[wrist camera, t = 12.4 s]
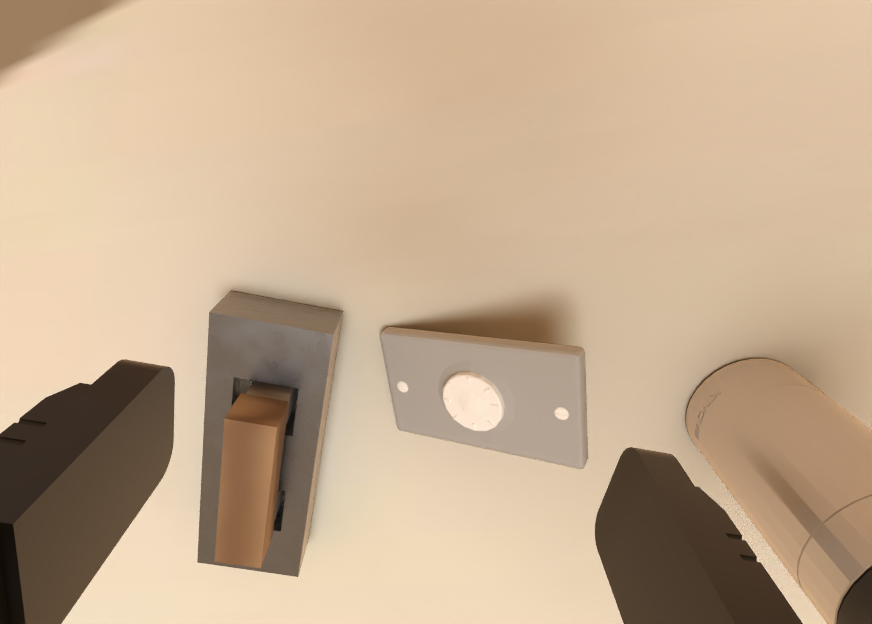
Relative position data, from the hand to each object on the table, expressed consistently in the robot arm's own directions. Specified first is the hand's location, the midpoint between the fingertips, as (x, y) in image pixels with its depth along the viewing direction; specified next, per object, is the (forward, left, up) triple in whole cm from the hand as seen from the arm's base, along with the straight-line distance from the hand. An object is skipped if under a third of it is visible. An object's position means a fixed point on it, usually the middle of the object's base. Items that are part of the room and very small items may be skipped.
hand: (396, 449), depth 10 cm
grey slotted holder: (+8, +21, -28) cm, 36 cm away
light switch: (-6, +13, -28) cm, 32 cm away
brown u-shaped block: (+8, +21, -28) cm, 36 cm away
